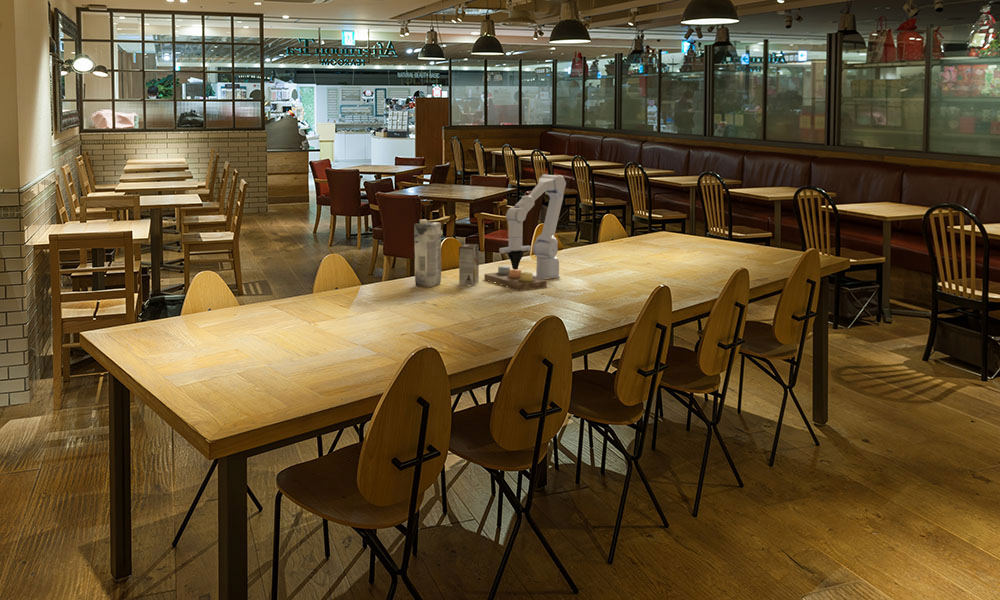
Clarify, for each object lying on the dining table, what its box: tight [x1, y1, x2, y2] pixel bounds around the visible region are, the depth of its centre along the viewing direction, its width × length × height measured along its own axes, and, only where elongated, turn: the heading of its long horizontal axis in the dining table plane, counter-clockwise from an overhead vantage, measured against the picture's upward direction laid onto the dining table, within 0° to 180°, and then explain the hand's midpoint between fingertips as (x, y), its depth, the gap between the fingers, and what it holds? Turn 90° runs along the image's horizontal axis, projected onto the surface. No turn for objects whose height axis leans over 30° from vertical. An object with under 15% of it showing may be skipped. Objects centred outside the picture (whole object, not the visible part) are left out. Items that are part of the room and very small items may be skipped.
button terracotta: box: [509, 268, 522, 279], centre depth 367 cm, size 5×5×3 cm
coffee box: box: [458, 243, 480, 287], centre depth 365 cm, size 9×6×16 cm
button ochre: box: [520, 271, 534, 283], centre depth 360 cm, size 5×5×3 cm
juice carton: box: [413, 218, 442, 288], centre depth 360 cm, size 9×10×27 cm
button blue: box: [497, 265, 511, 276], centre depth 374 cm, size 5×5×3 cm
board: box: [483, 271, 548, 291], centre depth 368 cm, size 14×26×2 cm, turn 32°
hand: (515, 269), depth 367 cm, fingers closed
